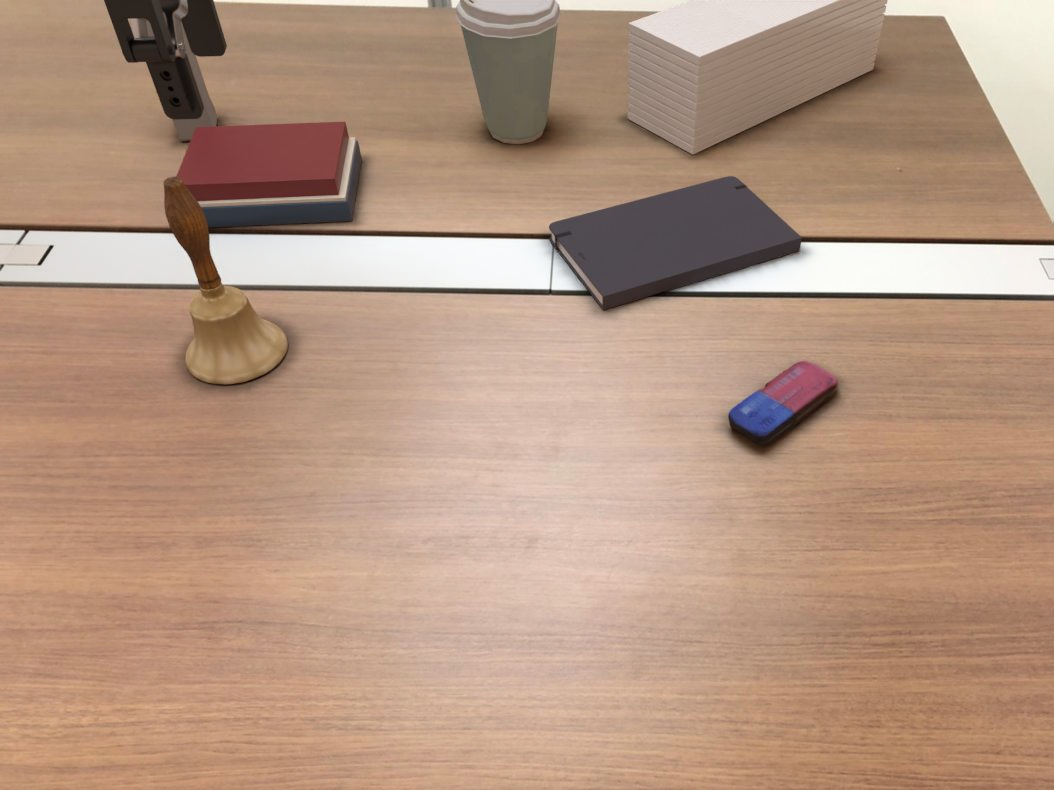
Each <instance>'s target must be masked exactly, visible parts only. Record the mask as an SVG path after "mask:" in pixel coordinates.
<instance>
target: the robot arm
mask: <svg viewBox="0 0 1054 790" xmlns="http://www.w3.org/2000/svg"><path fill="white" fill-rule="evenodd" d="M103 1H104V4H105V7H106V10H107V13H108V16H109V18H110V22H111V24H112V27H113V29H114V32H115V35H116V38H117V41H118V44H119V46H120V49H121V53H122V56H123V57H124V59H125V61H126V63H128V64H131V63H134V64H135V63H136V64H138V63H145V64H146V67H147V69H148V72H149V75H150V77H151V80H152V83H153V85H154V89H155V92H156V94H157V97H158V99H159V102H160V105H161V108H162V110H163V113H164V114H165V116H166V117H167V118H169V119H171V120H172V119H175V120H176V119H198V118H200V117H201V116H202V113H203V110H204V105H203V102H202V99H201V96H200V93H199V90H198V87H197V84H196V81H195V78H194V75H193V72H192V69H191V66H190V63H189V60H188V57H187V54H186V53H185V51H186V49H185V44H184V40H183V32H182V25H183V28H184V31H185V34H186V37H187V40H188V43H189V46H190V49H191V51H192V53H193V54H195V55H196V57H198V58H199V57H201V58H202V57H203V58H204V57H222V56H224V55H225V53H226V51H227V48H228V45H227V42H226V38H225V33H224V32H223V28H222V24H221V21H220V18H219V14H218V11H217V8H216V5H215V1H214V0H103ZM164 17H165V18H166V21H165V18H164ZM146 20H148V21H149V23H150V25H151V28H152V31H153V34H154V36H148V33H147V26H146ZM181 22H182V25H181Z"/></svg>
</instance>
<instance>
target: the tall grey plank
mask: <svg viewBox="0 0 1054 790" xmlns="http://www.w3.org/2000/svg"><path fill="white" fill-rule="evenodd" d="M164 18H165V17H164ZM165 21H166V18H165ZM181 25H182V22H181ZM146 26H147V33H148V36H154V34H153V31H152V28H151V25H150V23H149V21H148V20H146ZM182 32H183V40H184V44H185V49H186V51H185V53H186V54H187V57H188V60H189V63H190V66H191V69H192V72H193V75H194V78H195V81H196V84H197V87H198V90H199V93H200V96H201V99H202V102H203V105H204V110H203V113H202V116H201V117H200V118H198V119H176V120H175V119H171V120H172V123H173V126H174V129H175V131H176V134H177V137H178V139H179V140H180V141H181V142H183V143H184V142H190V141H191V138H192V136H193V134H194V131H195V129H196V127H212V126H218V125H217V124H218V113H217V110H216V107H215V105H214V103H213V100H212V99H211V97H210V95H209V91H208V89H207V85H206V83H205V79H204V77H203V74H202V71H201V67H200V65H199V61H198V59H197V56H196V55H195V54H193V53H192V51H191V49H190V46H189V43H188V40H187V37H186V34H185V31H184V28H183V25H182Z"/></svg>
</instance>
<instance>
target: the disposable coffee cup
mask: <svg viewBox="0 0 1054 790" xmlns="http://www.w3.org/2000/svg"><path fill="white" fill-rule="evenodd" d="M560 7H561V6H560V4H559V3H558V2H557V0H459V1H458V3H457V4H456V6H455V18H456V20H457V21H458V23H459V24H460V28H461V32H462V35H463V39H464V43H465V44H464V45H465V48H466V52H467V56H468V60H469V64H470V68H471V72H472V76H473V80H474V84H475V88H476V93H477V96H478V101H479V104H480V108H481V112H482V116H483V120H484V124H485V126H486V128H487V129H488V132H489V133H490V135H491V137H492V139H494V140H497V141H499V142H500V143H503V144H511V145H522V144H528V143H533V142H534V141H536V140H537V139H539V138H541V137H542V136H543V133H544V131H545V128H546V126H547V123H548V114H549V106H550V97H551V88H552V79H553V78H552V77H553V68H554V62H555V52H556V42H557V34H558V25H559V19H560V18H561V15H562V13H561V9H560Z"/></svg>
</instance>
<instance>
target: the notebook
mask: <svg viewBox="0 0 1054 790" xmlns="http://www.w3.org/2000/svg"><path fill="white" fill-rule="evenodd" d="M548 229H549V231H550V232H551V235H550V236H549V241H550V243H551V245H552V246H553V247H554V248H555V250H556V251H557V253H558V254H559V255H560V256H561V258H562V259H563V260H564V261H565V262H566V264H567V266H568V267H569V268H570V269H571V271H572V272H573V273H574V274H575V276H576V277H577V278H578V280H579V281H580V282H581V284H582V285H583V286H584V288H585V289H586V290H587V291H588V292H589V294H590V295H591V296H592V298H593V299H594V300H595V302H596V303H597V304H598V305H599V307H600V308H601V309H602V311H604V310H608V309H611V308H614V307H618V306H622V305H624V304H628V303H632V302H634V301H638V300H642V299H644V298H645V299H646V298H648V297H651V296H655V295H657V294H661V293H664V292H668V291H671V290H674V289H677V288H682V287H684V286H688V285H690V284H694V283H698V282H701V281H704V280H708V279H710V278H715V277H718V276H721V275H725V274H727V273H728V274H729V273H732V272H735V271H737V270H740V269H745V268H747V267H751V266H754V265H757V264H760V263H763V262H764V263H765V262H767V261H770V260H771V261H772V260H774V259H777V258H781V257H784V256H787V255H790V254H793V253H797V252H800V251H801V245H802V240H803V237H802V236H801V235H800V234H799V233H798V232H797V231H796V230H795V229H793V228H792V226H790V225H789V224H788V223H787V222H786V221H785V220H784V219H783V218H782V217H780V216H779V215H778V214H777V213H776V212H775V211H774V210H773V209H772V208H771V207H769V205H767V204H766V203H765V202H764V201H763V200H762V199H761V198H760V197H759V196H758V195H757V194H755V193H754V191H752V190H751V189H750V188H749V187H748V186H747V185H746V184H745V183H744V182H743V181H742V180H740V179H739V178H737V177H736V176H734V175H733V176H732V175H728V176H723V177H720V178H719V177H718V178H716V179H712V180H708V181H704V182H700V183H696V184H693V185H689V186H684V187H681V188H678V189H674V190H670V191H666V192H662V193H659V194H658V193H657V194H655V195H651V196H648V197H643V198H640V199H635V200H632V201H628V202H624V203H621V204H617V205H613V206H609V207H606V208H602V209H598V210H594V211H590V212H586V213H582V214H579V215H574V216H571V217H567V218H564V219H559V220H555V221H554V222H551V223H549V225H548Z"/></svg>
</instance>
